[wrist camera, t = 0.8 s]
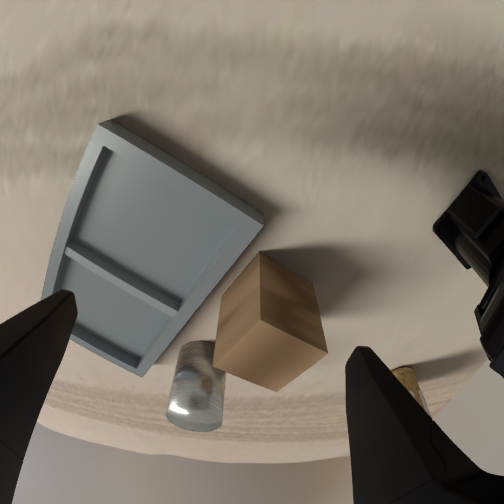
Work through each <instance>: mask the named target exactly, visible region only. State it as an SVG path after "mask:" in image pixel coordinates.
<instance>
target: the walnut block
mask: <svg viewBox="0 0 504 504" xmlns="http://www.w3.org/2000/svg"><path fill="white" fill-rule="evenodd" d="M327 353H328V351H327V346H326V341H325V337H324V332H323V328H322V323H321V319H320V314H319V310H318V305H317V301H316V297H315V292H314V288H313V284H312V283H310V282H309V281H307V280H305V279H304V278H302V277H300V276H299V275H297V274H296V273H294V272H292V271H291V270H289V269H287V268H286V267H284V266H283V265H281V264H279V263H278V262H276V261H274V260H273V259H271V258H270V257H268V256H266V255H265V254H263V253H261V252H260V251H259V252H258V254H257V255H256V256H255V257H254V258H253V259H252V261H251V262H250V263H249V264H248V265H247V267H246V268H245V269H244V270H243V271H242V273H241V274H240V275H239V276H238V277H237V279H236V280H235V281H234V282H233V283H232V285H231V286H230V287H229V288H228V289H227V291H226V292H225V293H224V294H223V295H222V299H221V306H220V313H219V320H218V328H217V335H216V343H215V350H214V358H213V367H216V368H218V369H220V370H223V371H225V372H227V373H230V374H232V375H235V376H237V377H239V378H242V379H244V380H247V381H249V382H252V383H254V384H257V385H259V386H262V387H265V388H267V389H270V390H273V391H275V392H277V391H278V390H280V389H281V388H283V387H284V386H285V385H287V384H288V383H289V382H291V381H292V380H294V379H295V378H296V377H298V376H299V375H300V374H302V373H303V372H304V371H306V370H307V369H308V368H310V367H311V366H312V365H313V364H315V363H316V362H317V361H319V360H320V359H321V358H322V357H324V356H325V355H326V354H327Z"/></svg>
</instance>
